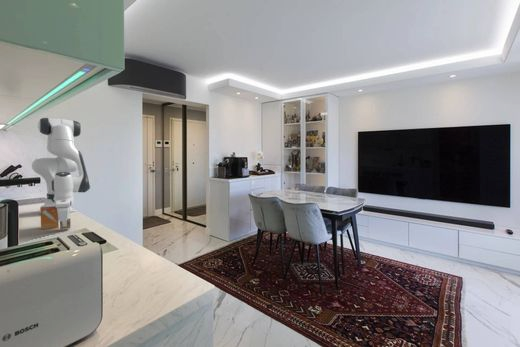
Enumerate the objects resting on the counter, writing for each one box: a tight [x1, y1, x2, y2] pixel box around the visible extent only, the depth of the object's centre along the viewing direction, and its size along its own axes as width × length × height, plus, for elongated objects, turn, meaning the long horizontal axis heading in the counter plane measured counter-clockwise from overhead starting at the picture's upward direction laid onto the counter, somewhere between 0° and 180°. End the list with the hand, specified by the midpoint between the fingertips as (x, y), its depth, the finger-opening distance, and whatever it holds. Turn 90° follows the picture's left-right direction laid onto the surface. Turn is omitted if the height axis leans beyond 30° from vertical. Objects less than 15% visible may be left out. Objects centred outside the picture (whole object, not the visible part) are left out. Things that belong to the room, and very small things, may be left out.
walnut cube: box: [59, 218, 72, 230], centre depth 149 cm, size 4×4×4 cm
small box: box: [39, 204, 60, 230], centre depth 153 cm, size 8×6×13 cm
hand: (65, 224), depth 149 cm, fingers closed on walnut cube, 4 cm apart
